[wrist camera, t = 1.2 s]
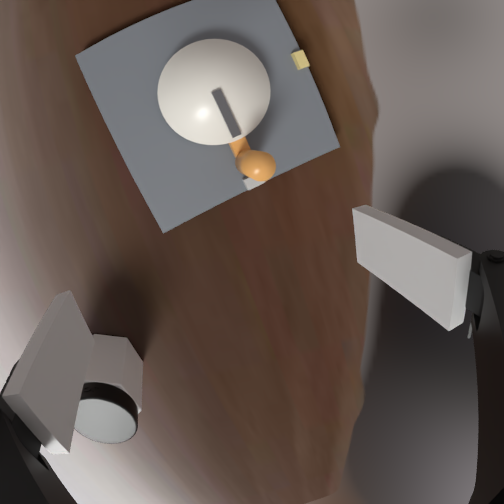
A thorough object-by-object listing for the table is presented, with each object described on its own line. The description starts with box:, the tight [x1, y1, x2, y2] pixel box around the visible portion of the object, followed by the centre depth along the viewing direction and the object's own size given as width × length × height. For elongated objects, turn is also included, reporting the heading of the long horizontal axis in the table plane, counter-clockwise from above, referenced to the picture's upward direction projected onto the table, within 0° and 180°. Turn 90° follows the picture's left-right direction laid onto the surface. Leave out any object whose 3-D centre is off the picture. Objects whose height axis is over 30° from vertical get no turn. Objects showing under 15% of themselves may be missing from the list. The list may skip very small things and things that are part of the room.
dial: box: [157, 39, 276, 181], centre depth 28 cm, size 15×11×6 cm
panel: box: [75, 0, 340, 233], centre depth 31 cm, size 22×22×3 cm
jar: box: [74, 334, 143, 444], centre depth 34 cm, size 9×8×12 cm
